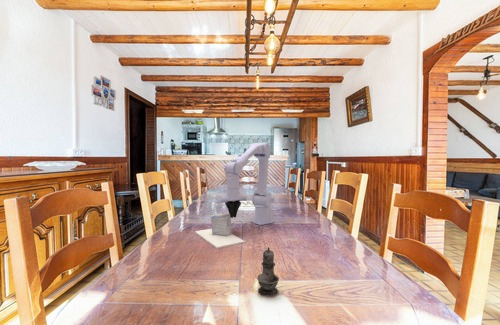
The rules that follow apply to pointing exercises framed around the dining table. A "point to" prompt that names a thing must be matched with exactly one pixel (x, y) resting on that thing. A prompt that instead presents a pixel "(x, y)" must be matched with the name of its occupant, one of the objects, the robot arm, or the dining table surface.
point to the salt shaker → (268, 275)
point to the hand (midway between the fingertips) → (232, 217)
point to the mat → (219, 238)
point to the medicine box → (221, 224)
